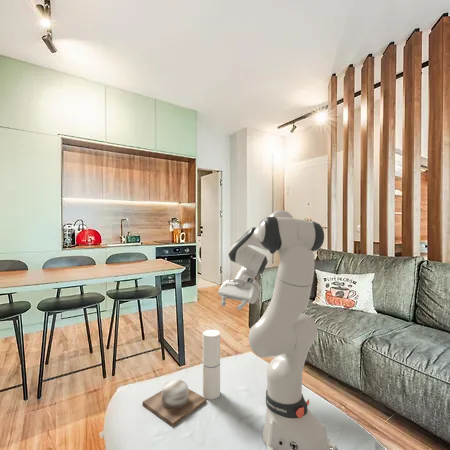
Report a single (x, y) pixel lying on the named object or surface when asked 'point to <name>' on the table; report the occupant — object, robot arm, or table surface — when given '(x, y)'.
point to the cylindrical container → (211, 364)
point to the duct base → (174, 412)
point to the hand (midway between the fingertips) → (230, 307)
